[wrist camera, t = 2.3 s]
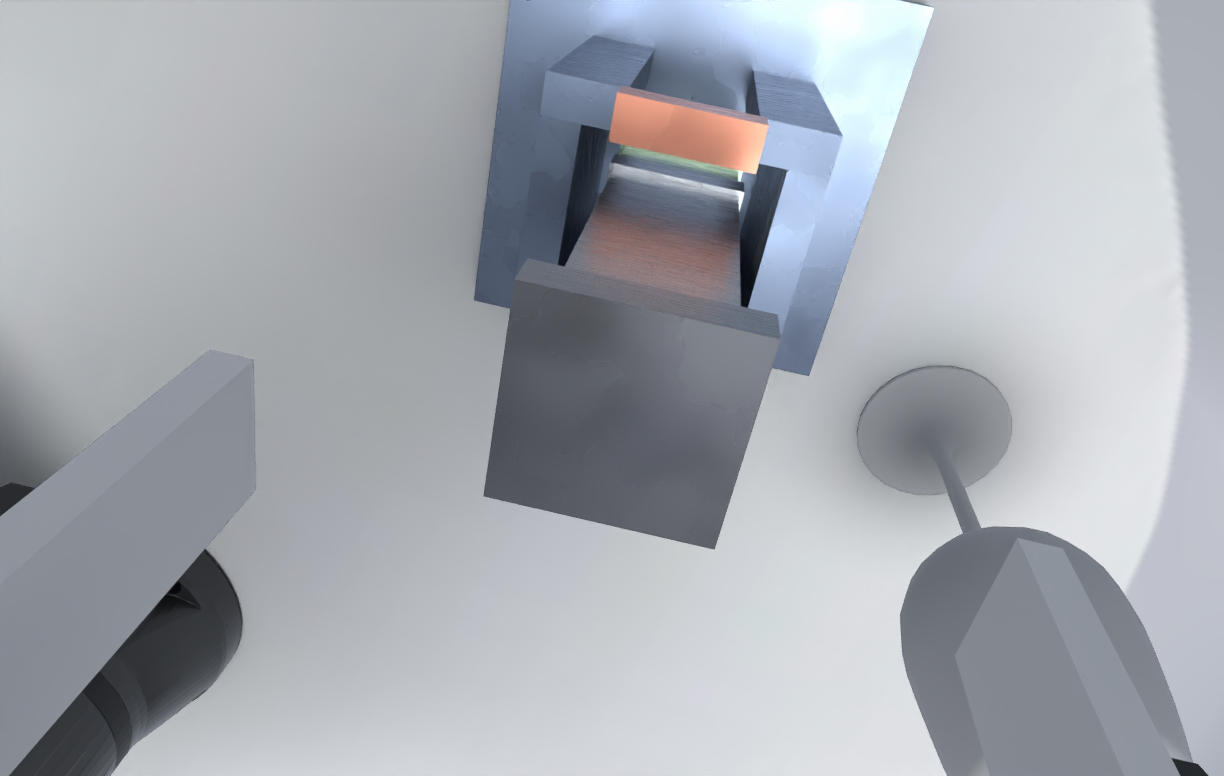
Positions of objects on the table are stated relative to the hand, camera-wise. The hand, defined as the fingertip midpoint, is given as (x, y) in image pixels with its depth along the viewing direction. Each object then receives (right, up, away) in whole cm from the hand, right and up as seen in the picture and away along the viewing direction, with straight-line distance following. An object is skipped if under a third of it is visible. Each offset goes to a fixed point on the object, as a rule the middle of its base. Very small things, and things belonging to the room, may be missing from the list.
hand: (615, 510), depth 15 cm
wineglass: (+16, 0, +28) cm, 32 cm away
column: (+3, +11, +21) cm, 24 cm away
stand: (+3, +12, +23) cm, 26 cm away
